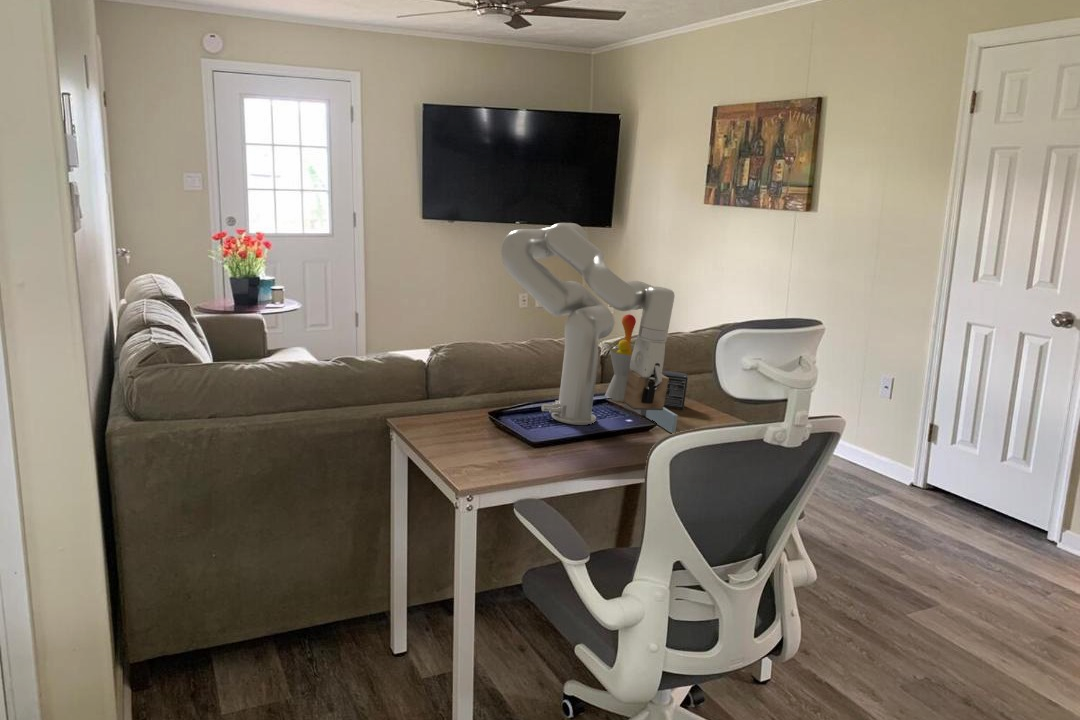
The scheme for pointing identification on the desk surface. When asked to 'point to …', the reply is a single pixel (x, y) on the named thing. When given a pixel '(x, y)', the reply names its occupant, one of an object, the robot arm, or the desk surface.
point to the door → (663, 418)
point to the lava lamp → (621, 361)
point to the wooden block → (636, 392)
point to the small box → (675, 389)
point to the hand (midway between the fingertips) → (641, 398)
